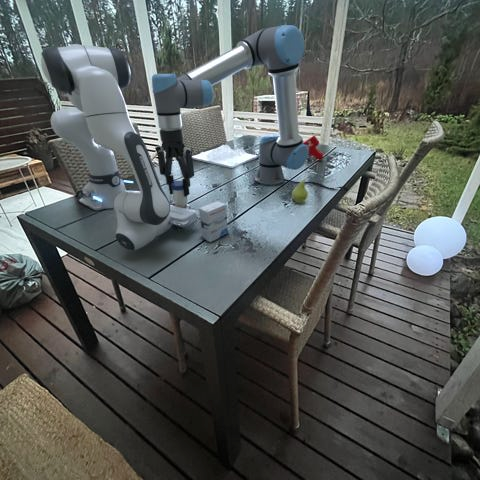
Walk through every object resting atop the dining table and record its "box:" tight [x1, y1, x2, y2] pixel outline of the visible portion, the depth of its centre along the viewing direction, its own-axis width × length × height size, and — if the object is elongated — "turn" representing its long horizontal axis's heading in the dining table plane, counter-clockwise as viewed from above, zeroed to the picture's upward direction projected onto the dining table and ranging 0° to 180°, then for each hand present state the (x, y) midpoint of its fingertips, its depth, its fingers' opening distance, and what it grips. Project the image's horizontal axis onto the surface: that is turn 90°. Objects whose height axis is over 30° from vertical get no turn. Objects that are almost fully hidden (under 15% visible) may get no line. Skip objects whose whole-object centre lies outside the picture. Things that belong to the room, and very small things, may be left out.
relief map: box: [192, 144, 259, 169], centre depth 178 cm, size 27×35×5 cm
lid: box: [171, 180, 183, 190], centre depth 100 cm, size 6×6×2 cm
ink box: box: [198, 200, 228, 243], centre depth 95 cm, size 8×5×12 cm, turn 135°
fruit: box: [291, 174, 311, 204], centre depth 118 cm, size 7×8×12 cm
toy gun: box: [303, 135, 324, 163], centre depth 173 cm, size 18×4×15 cm
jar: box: [172, 190, 189, 208], centre depth 104 cm, size 5×5×15 cm
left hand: (182, 205), depth 105 cm, fingers closed on jar, 5 cm apart
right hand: (179, 194), depth 102 cm, fingers closed on lid, 5 cm apart
